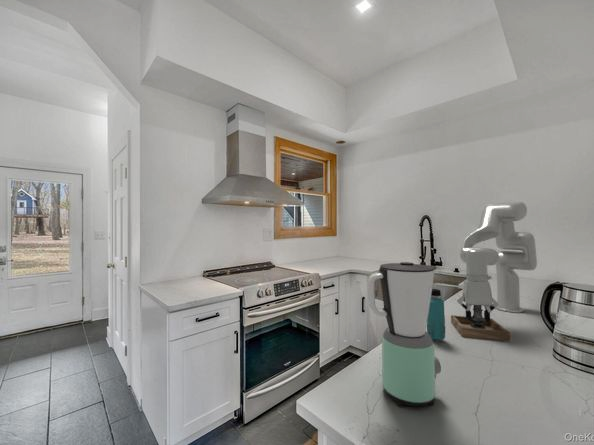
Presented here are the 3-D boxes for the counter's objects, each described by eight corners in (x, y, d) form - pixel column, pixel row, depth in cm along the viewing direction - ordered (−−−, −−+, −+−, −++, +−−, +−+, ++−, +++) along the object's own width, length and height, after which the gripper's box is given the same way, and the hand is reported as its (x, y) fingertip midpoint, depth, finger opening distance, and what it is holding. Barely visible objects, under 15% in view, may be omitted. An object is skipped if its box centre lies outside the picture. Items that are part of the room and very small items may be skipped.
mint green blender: (423, 378, 77) (421, 259, 78) (455, 409, 64) (452, 266, 65) (360, 382, 76) (359, 260, 76) (380, 415, 62) (378, 267, 63)
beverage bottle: (449, 343, 100) (448, 291, 101) (431, 343, 101) (430, 291, 101) (440, 336, 107) (439, 287, 107) (423, 336, 107) (422, 287, 108)
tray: (451, 322, 123) (451, 315, 123) (492, 326, 118) (492, 318, 118) (461, 336, 107) (461, 328, 107) (509, 341, 102) (509, 332, 102)
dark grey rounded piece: (489, 330, 109) (488, 301, 109) (473, 329, 110) (472, 300, 111) (482, 324, 115) (481, 297, 115) (467, 324, 116) (466, 296, 116)
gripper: (496, 277, 114) (497, 319, 114) (451, 275, 119) (452, 315, 119) (504, 280, 107) (505, 325, 107) (456, 278, 112) (457, 321, 112)
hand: (477, 319), depth 113 cm, fingers closed on dark grey rounded piece, 5 cm apart
